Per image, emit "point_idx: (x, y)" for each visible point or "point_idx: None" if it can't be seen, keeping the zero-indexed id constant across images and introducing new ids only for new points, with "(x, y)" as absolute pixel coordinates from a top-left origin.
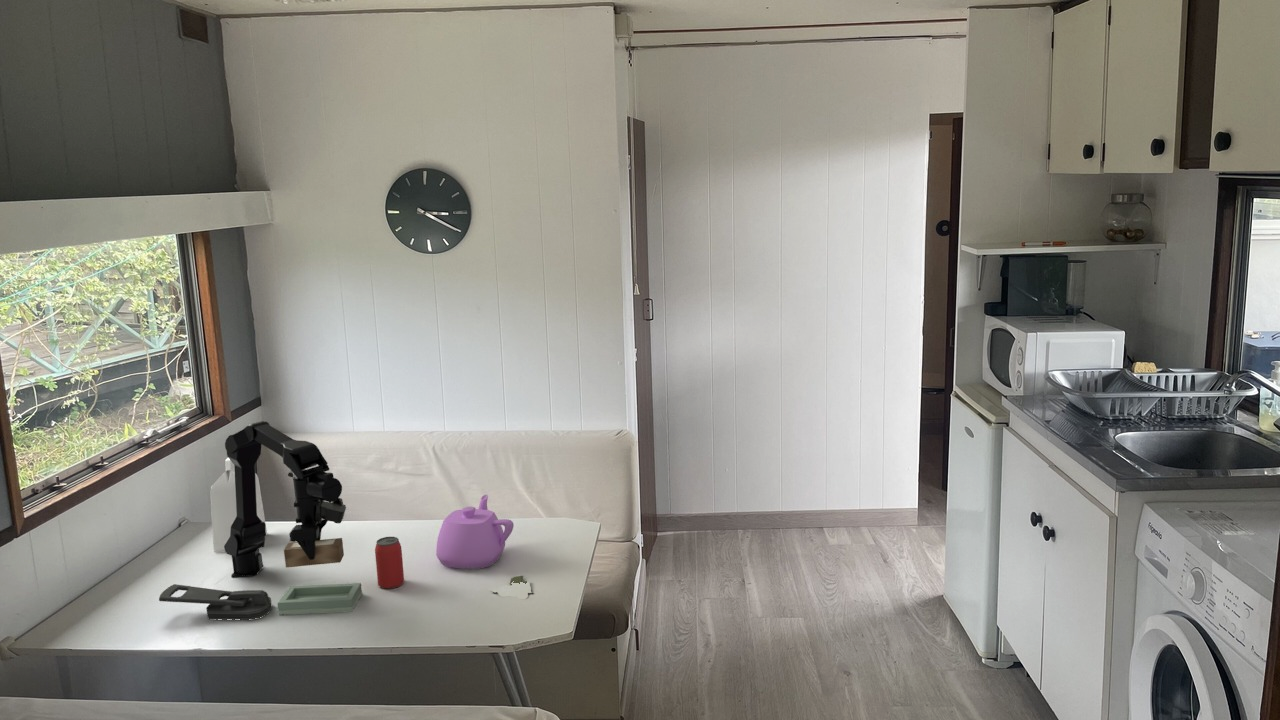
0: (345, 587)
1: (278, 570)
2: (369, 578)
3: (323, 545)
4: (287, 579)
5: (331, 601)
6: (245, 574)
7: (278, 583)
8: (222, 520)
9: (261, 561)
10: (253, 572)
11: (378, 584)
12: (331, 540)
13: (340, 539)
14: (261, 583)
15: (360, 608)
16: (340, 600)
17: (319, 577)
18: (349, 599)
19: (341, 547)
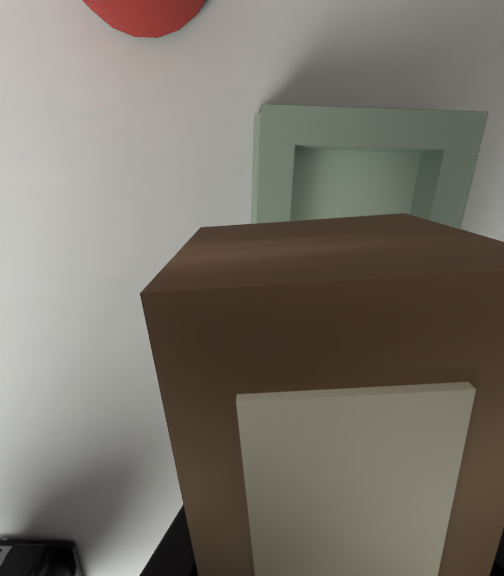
0: (290, 192)
1: (20, 495)
2: (68, 120)
3: (461, 502)
4: (94, 452)
5: (456, 224)
6: (73, 568)
7: (128, 469)
8: None
9: (4, 571)
10: (57, 555)
11: (182, 24)
12: (288, 446)
13: (229, 304)
14: (127, 512)
15: (426, 83)
16: (471, 175)
17: (70, 354)
18: (484, 121)
19: (287, 247)
